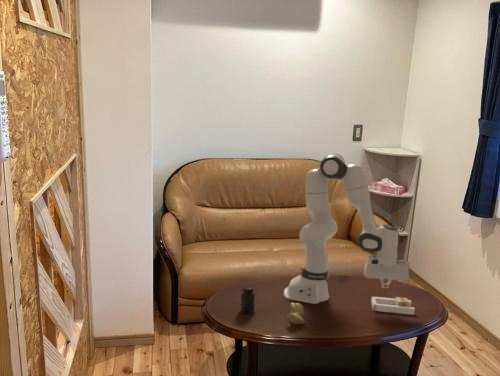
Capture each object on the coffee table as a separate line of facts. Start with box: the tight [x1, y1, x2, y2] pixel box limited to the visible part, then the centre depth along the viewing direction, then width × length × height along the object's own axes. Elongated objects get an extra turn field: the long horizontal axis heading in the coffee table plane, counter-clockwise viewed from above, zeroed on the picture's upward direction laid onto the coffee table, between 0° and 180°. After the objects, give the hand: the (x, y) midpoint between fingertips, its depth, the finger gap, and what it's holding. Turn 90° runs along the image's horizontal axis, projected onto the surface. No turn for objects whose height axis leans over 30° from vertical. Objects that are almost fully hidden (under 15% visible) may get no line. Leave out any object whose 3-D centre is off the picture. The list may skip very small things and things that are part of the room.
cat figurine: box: [286, 301, 306, 325], centre depth 203 cm, size 8×7×12 cm
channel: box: [370, 295, 416, 316], centre depth 219 cm, size 18×10×3 cm, turn 81°
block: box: [395, 296, 409, 307], centre depth 218 cm, size 5×5×5 cm
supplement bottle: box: [239, 284, 256, 316], centre depth 208 cm, size 7×7×12 cm
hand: (385, 287), depth 217 cm, fingers closed
